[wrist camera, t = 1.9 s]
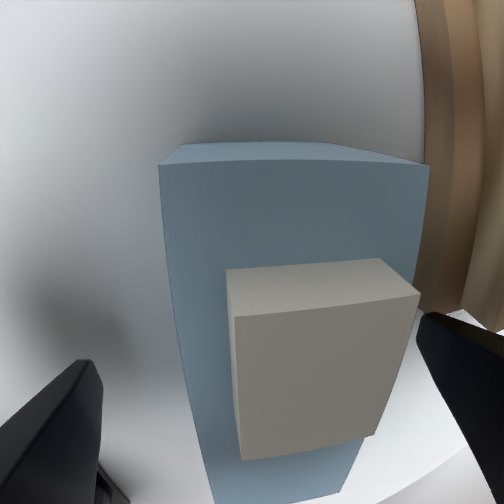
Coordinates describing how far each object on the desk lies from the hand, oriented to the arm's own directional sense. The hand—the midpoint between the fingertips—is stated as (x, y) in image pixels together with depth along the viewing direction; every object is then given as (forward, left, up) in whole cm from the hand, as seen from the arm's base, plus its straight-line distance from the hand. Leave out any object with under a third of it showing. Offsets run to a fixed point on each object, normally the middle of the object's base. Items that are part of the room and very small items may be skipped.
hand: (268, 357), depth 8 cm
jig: (+6, -12, -3) cm, 14 cm away
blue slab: (0, 0, -3) cm, 3 cm away
